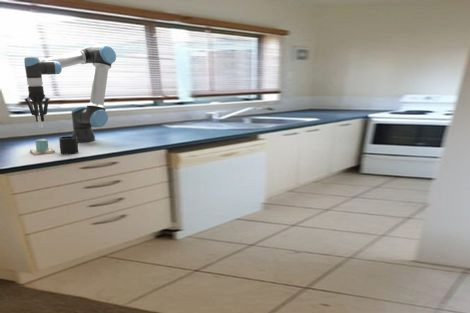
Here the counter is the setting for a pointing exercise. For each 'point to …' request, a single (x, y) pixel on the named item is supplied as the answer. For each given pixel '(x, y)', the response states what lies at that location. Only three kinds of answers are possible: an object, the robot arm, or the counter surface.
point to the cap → (42, 145)
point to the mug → (68, 145)
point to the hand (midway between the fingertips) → (41, 127)
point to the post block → (42, 151)
